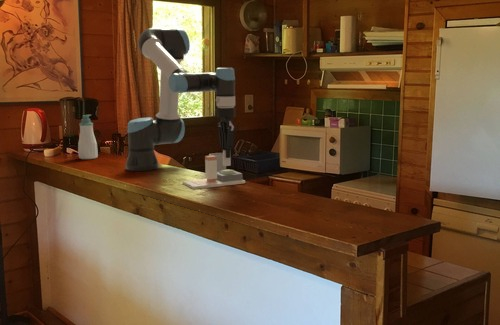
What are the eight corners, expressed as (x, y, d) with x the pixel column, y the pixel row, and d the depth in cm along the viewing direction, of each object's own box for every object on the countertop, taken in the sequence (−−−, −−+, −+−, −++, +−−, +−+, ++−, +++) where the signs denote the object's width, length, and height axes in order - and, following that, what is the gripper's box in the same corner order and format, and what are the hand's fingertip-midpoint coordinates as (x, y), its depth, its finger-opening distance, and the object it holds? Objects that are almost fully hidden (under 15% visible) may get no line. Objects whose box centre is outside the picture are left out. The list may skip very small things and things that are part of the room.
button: (219, 177, 230) (219, 170, 230) (230, 176, 232) (230, 169, 232) (224, 179, 226) (224, 172, 225) (235, 178, 228) (235, 170, 227)
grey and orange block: (205, 180, 226) (204, 156, 224) (213, 180, 227) (213, 155, 226) (209, 182, 222) (208, 157, 221) (217, 181, 224) (216, 156, 222)
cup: (214, 176, 240) (214, 156, 239) (203, 173, 248) (202, 153, 247) (229, 174, 244) (228, 154, 243) (217, 171, 252) (217, 151, 251)
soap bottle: (101, 157, 302) (99, 114, 299) (89, 160, 294) (86, 116, 290) (87, 156, 306) (84, 114, 303) (74, 159, 298) (71, 115, 294)
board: (182, 183, 226) (182, 175, 225) (232, 178, 236) (232, 170, 235) (193, 189, 215) (193, 180, 215) (245, 183, 225) (245, 174, 224)
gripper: (210, 106, 228) (212, 163, 233) (223, 108, 217) (224, 168, 221) (227, 105, 232) (228, 162, 236) (241, 107, 220) (242, 167, 224)
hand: (226, 165), depth 228 cm, fingers closed
